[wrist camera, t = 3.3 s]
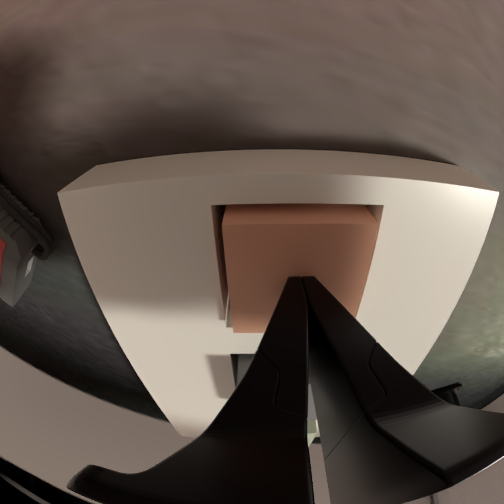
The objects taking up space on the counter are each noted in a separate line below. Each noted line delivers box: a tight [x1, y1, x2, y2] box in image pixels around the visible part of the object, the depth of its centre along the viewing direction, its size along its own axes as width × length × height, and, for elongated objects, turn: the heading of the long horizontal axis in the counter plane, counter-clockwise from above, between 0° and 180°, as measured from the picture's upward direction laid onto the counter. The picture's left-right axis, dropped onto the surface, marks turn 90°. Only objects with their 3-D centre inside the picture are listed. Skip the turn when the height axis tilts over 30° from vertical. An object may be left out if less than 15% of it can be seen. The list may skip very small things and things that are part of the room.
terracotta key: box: [222, 203, 379, 333], centre depth 10 cm, size 4×4×4 cm
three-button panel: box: [57, 149, 499, 437], centre depth 14 cm, size 16×21×3 cm
